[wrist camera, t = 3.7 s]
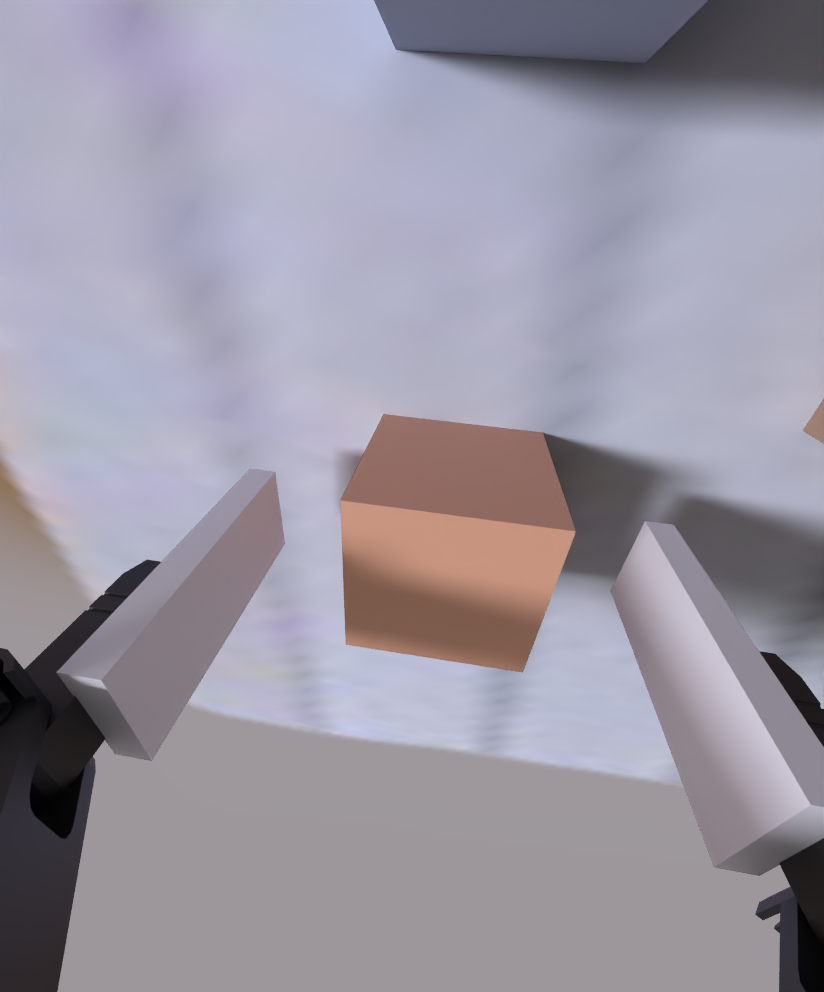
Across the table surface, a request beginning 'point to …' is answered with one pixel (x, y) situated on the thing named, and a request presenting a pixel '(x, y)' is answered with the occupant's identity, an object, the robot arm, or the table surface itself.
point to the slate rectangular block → (538, 27)
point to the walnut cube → (816, 424)
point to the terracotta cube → (452, 541)
